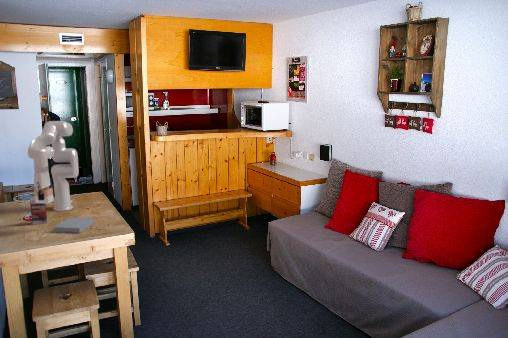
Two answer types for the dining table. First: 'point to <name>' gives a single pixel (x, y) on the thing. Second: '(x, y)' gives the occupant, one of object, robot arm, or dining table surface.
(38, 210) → the supplement box
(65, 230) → the stand
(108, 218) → the dining table surface
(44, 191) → the block
